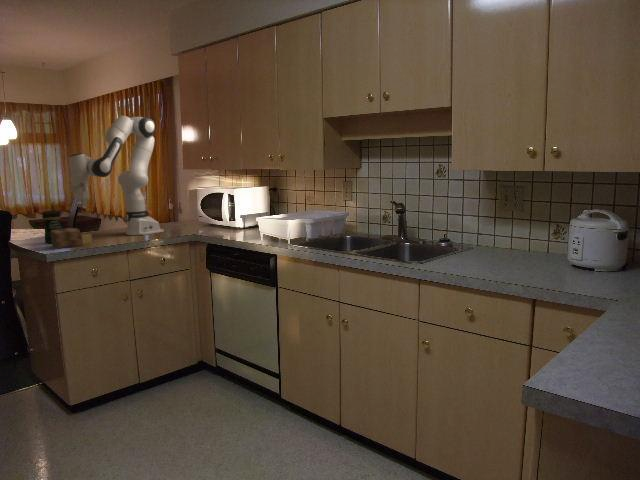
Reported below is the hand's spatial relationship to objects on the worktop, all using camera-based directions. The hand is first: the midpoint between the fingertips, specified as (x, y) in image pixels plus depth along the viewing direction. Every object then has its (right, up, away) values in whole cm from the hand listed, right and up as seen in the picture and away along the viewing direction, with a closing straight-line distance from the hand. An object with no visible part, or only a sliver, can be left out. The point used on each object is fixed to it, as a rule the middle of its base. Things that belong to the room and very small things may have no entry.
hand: (82, 207), depth 283 cm
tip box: (-6, -22, -6) cm, 23 cm away
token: (+1, -20, +3) cm, 20 cm away
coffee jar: (-20, -20, +9) cm, 30 cm away
